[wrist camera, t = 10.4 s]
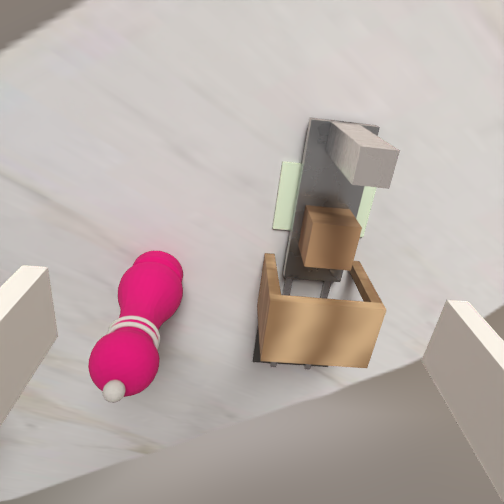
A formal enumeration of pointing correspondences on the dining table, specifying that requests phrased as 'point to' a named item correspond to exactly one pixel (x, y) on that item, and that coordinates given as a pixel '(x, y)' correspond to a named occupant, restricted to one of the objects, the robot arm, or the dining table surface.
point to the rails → (287, 292)
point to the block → (329, 237)
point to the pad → (288, 197)
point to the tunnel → (317, 323)
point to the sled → (336, 179)
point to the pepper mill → (137, 326)
